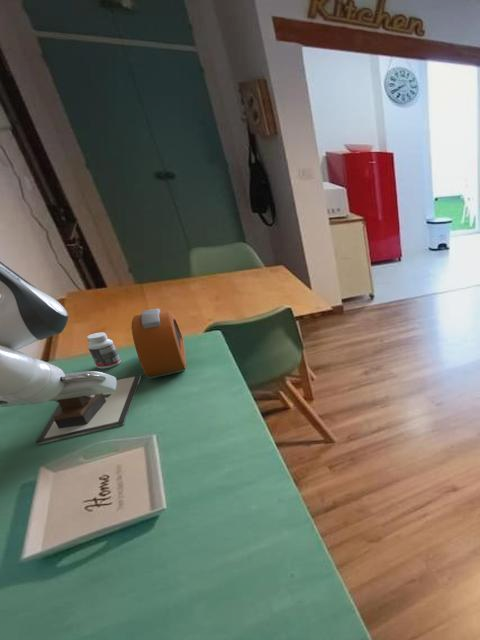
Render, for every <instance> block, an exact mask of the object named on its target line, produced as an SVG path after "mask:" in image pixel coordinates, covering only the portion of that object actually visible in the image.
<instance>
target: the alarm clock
mask: <svg viewBox="0 0 480 640" xmlns="http://www.w3.org/2000/svg"><path fill="white" fill-rule="evenodd" d="M130 328H131V334H132V339H133V343H134V348H135V350H136V351H135V352H136V354H137V358H138V361H139V363H140V366H141V368H142V371H143V373H144V375H145V376H146V377H147V378H151V379H155V378H160V377H164V376H169V375H172V374H178V373H181V372H185V371H186V369H187V357H186V347H185V340H184V337H183V333H182V331H181V328H180V325H179V323H178V320H177V318H176V315H175V314H174V313H173V312H172V311H171V310H169V309H167V310H162V311H161V309H160V308H151V309H145V310H143V311H142V312H141V314H137V315H134V316H133V317H132V320H131V327H130Z"/></svg>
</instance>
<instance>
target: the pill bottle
mask: <svg viewBox="0 0 480 640" xmlns="http://www.w3.org/2000/svg"><path fill="white" fill-rule="evenodd" d="M86 339H87V341H88V342H89V343H88V344H87V349H88V350H89V353H90V355H91V358H92V359H93V362H94V364H95V366H96V368H98V369H102V370H103V369H110V368H114V367H116V366H118V365H120V364H121V362H122V361H121V357H120V355H119V353H118V351H117V349H116V346H115V344H114V341H113V340H112V339H109V338H108V335H107V333H106V332H95V333H91V334H88V335H87V336H86Z"/></svg>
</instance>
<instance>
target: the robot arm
mask: <svg viewBox="0 0 480 640" xmlns="http://www.w3.org/2000/svg"><path fill="white" fill-rule="evenodd" d="M69 316H70V315H69V313H68V311H67V310H66V308H65V307H64V306H63V305H62V304H61V303H60V301H58V300H56V299H55V298H54V297H52V296H51V295H49V294H47V293H46V292H44V291H43V290H41V289H39V288H38V287H36V286H35V285H33V284H32V283H31V282H29V281H28V280H26V279H25V278H23V277H22V276H20V274H18V273H17V272H16V271H14V270H13V269H11V268H10V267H9V266H7V265H6V264H5V263H3V262H2V261H0V408H11V407H17V406H25V405H39V404H40V405H41V404H44V403H47V402H55V403H58V401H57V400H61V399H68V398H75V397H82V396H83V397H84V398H93V397H94V396H95V395H96V394H103V393H111V392H114V391H115V390H116V384H117V382H116V378H117V377H116V376H113V375H111V374H108V373H105V372H101V371H95V370H87V371H78V372H71V373H65V372H64V371H63V369H61V368H60V367H58V366H57V365H54V364H52V363H50V362H47V361H44V360H42V359H39V358H35V357H31V356H30V355H28V354H27V353H24V352H22V351H19V350H20V349H23V348H24V347H27V346H29V345H31V344H34V343H36V342H38V341H42V340H46V339H47V338H50V337H53V336H56V335H58V334H61V333H63V332H64V330H65V328H66V326H67V324H68V321H69Z"/></svg>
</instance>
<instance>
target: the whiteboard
mask: <svg viewBox="0 0 480 640" xmlns="http://www.w3.org/2000/svg"><path fill="white" fill-rule="evenodd" d="M142 376H143V375H142V374H141V373H138V374H133V375H127V376H122V377H115V378H116V382H117V384H116V390H115V391H114V392H111V393H103V395H104V398H105V400H106V402H105V403H104V405H103V406H102V407H101V408H100V409H99V411H98V412H97V413H96V414H95V415H94V417H93V418H92V419H91V420H90V421H89V423H88V424H84V425H78V426H72V427H65V428H58V426H57V424H56V422H55V421H54V420H55V418H54V416H55V415H56V414H57V413H58V411H59V410H60V409H61V407H60V405H59V404H58V405H57V407H55V409H54V412H53V413H52V415H51V417H50V418H49V420H48V421H47V423H46V425H45V426H44V428H43V430H42V431H41V433H40V434H39V435H38V437H37V439H36V441H35V442H34V444H35V445H36V446H39V445H42V444H47V443H51V442H56V441H60V440H65V439H68V438H74V437H76V436H81V435H86V434H91V433H94V432H99V431H104V430H109V429H111V428H115V427H120V426H124V425H125V424H126V420H127V419H128V416H129V413H130V409H131V408H132V404H133V401H134V398H135V396H136V392H137V389H138V387H139V385H140V382H141V379H142Z"/></svg>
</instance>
